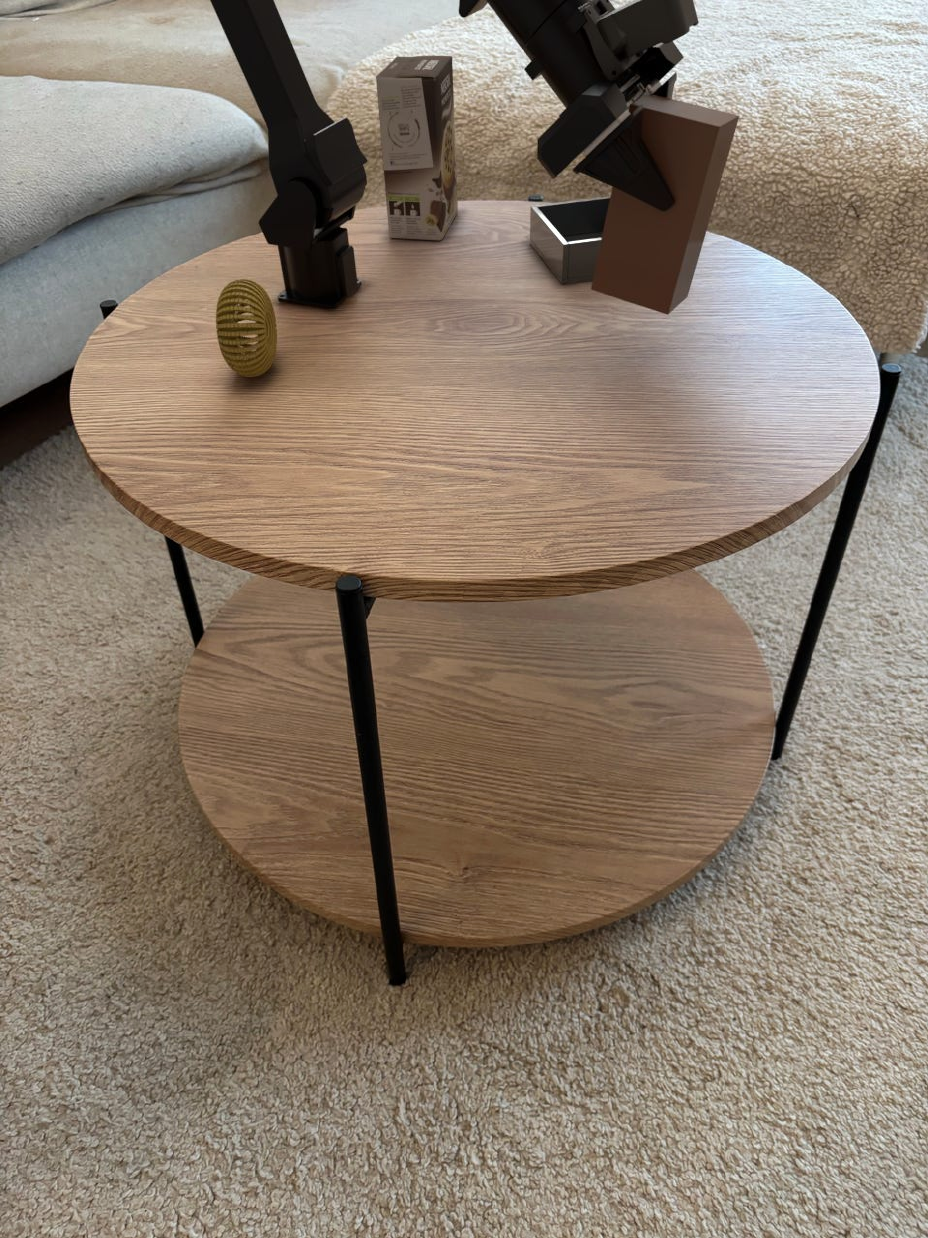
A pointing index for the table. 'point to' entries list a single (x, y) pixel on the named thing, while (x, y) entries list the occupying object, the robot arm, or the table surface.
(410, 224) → the coffee box
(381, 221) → the table surface
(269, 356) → the sculpture
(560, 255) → the open box
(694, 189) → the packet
